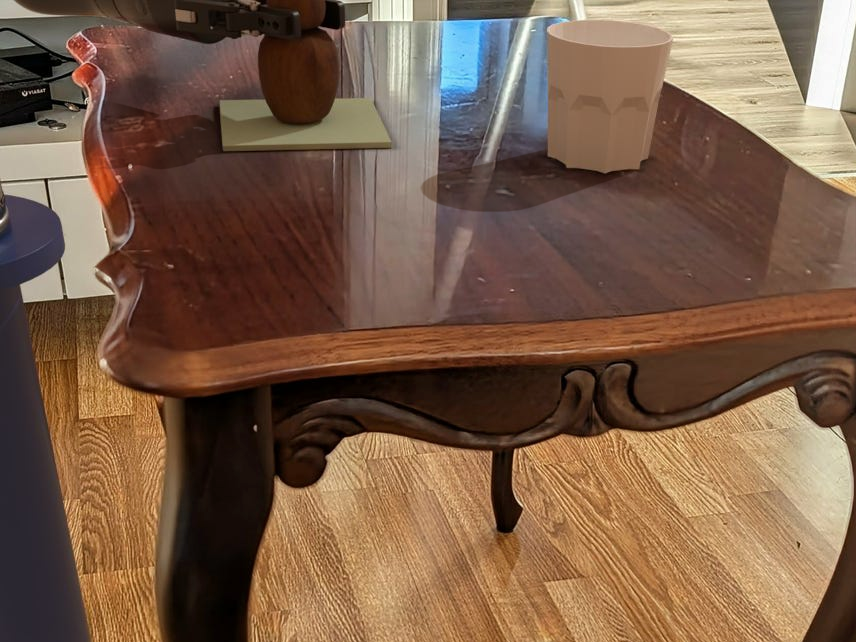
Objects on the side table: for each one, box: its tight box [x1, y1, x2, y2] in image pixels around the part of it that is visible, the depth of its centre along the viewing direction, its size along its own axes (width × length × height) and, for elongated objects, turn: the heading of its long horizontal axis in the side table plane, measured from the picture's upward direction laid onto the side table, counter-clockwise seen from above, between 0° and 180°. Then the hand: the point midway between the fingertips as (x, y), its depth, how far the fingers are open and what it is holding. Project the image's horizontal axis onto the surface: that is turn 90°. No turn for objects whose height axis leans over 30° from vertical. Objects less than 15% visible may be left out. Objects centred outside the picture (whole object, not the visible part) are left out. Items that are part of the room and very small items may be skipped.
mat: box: [218, 97, 393, 152], centre depth 101 cm, size 14×14×1 cm
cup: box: [546, 19, 674, 174], centre depth 94 cm, size 10×10×10 cm
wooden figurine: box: [257, 0, 340, 124], centre depth 97 cm, size 7×6×15 cm
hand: (320, 21), depth 95 cm, fingers closed on wooden figurine, 5 cm apart
